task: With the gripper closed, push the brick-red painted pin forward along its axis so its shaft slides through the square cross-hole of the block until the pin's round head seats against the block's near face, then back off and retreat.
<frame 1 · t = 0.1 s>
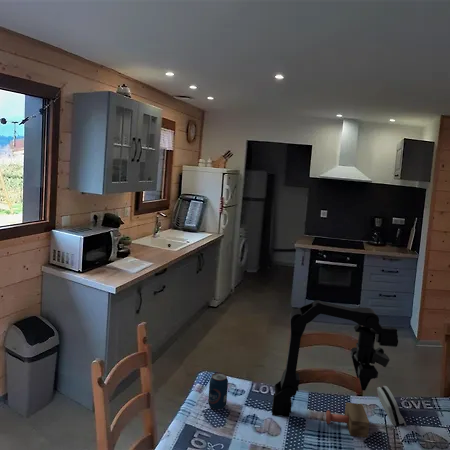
hand: (361, 383, 162), 15 cm above the table, fingers open, 9 cm apart
block: (355, 426, 161), on the table
white curved piece: (388, 413, 171), on the table
soda can: (217, 406, 168), on the table
pin: (340, 418, 161), point 2 cm above the table, slide at 0.0 cm
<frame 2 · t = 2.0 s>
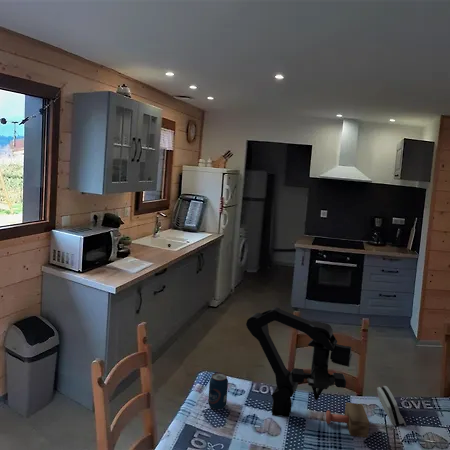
hand: (315, 399, 161), 9 cm above the table, fingers closed
nothing on the table moved.
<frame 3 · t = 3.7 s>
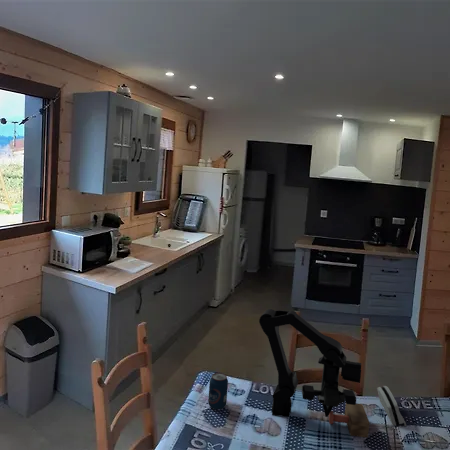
hand: (326, 416, 161), 3 cm above the table, fingers closed
pin: (343, 418, 161), point 2 cm above the table, slide at 1.0 cm, touching gripper
everything else where it was.
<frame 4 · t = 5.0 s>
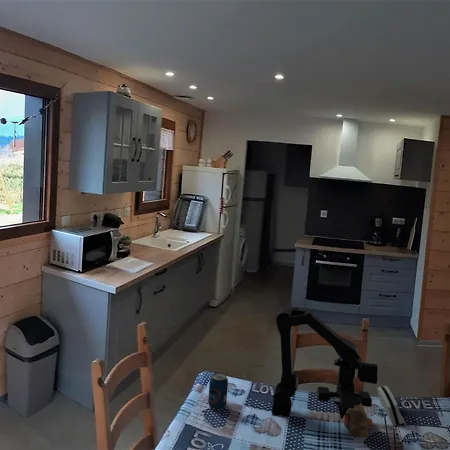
hand: (341, 418, 161), 3 cm above the table, fingers closed
pin: (358, 420, 160), point 2 cm above the table, slide at 6.4 cm, touching gripper
everything else where it was.
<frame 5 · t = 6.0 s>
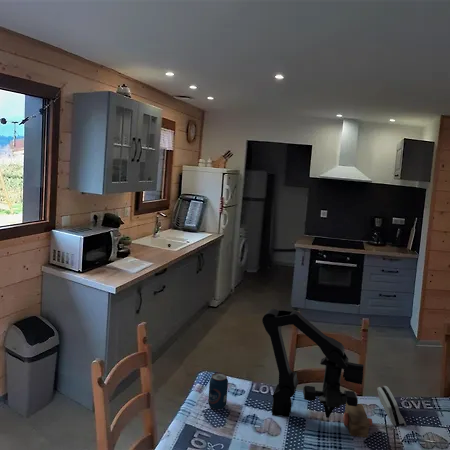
hand: (327, 417, 161), 2 cm above the table, fingers closed
pin: (357, 420, 160), point 2 cm above the table, slide at 6.3 cm
everything else where it was.
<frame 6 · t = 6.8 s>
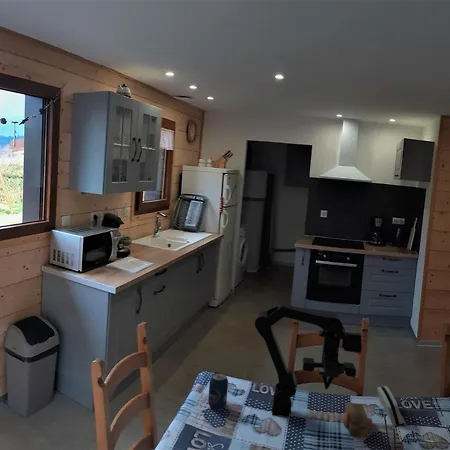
hand: (326, 388, 163), 12 cm above the table, fingers closed
nothing on the table moved.
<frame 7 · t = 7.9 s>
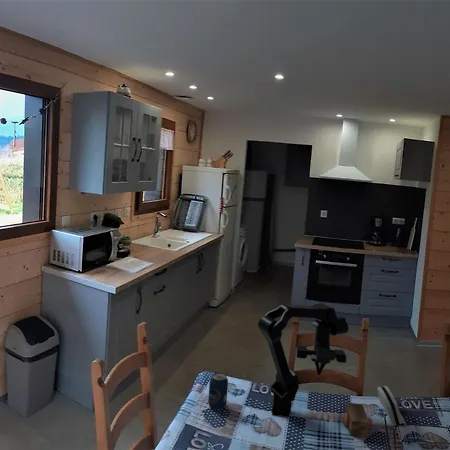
hand: (318, 374, 173), 12 cm above the table, fingers closed
nothing on the table moved.
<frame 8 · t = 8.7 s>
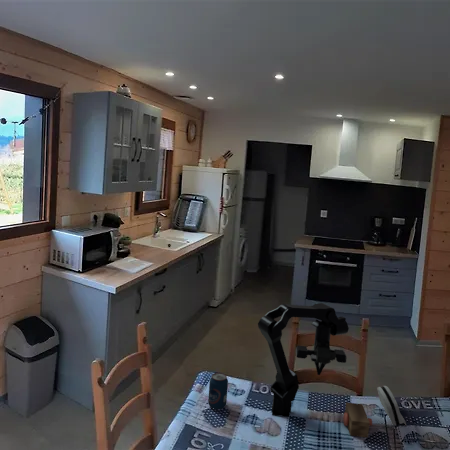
hand: (318, 374, 173), 12 cm above the table, fingers closed
nothing on the table moved.
at the end: pin slide at 6.3 cm; the gripper is holding nothing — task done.
